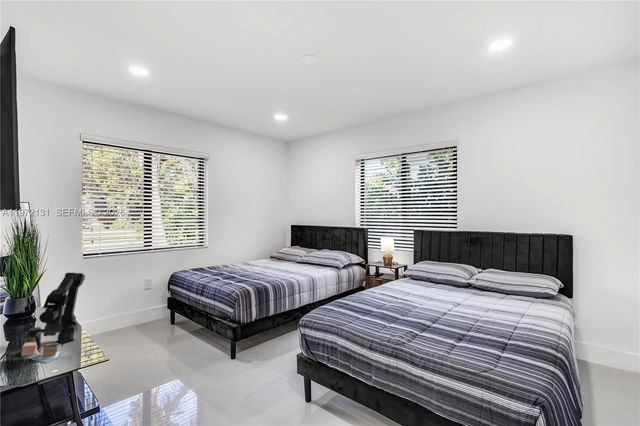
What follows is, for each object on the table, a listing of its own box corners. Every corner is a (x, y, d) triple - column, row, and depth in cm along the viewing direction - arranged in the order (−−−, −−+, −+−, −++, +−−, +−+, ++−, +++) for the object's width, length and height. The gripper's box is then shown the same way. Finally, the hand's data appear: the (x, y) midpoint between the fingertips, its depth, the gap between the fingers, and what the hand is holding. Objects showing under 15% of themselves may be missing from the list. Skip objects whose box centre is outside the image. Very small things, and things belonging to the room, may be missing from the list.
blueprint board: (52, 349, 168) (52, 348, 168) (70, 354, 165) (71, 353, 165) (27, 358, 157) (27, 357, 157) (46, 363, 153) (46, 362, 153)
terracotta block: (24, 352, 163) (25, 342, 163) (36, 351, 165) (38, 341, 165) (21, 356, 158) (22, 346, 159) (33, 355, 161) (35, 345, 161)
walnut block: (44, 353, 162) (45, 344, 162) (56, 352, 164) (58, 343, 164) (42, 357, 157) (43, 347, 158) (54, 356, 160) (56, 346, 160)
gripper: (25, 323, 150) (21, 355, 149) (74, 320, 159) (70, 351, 159) (32, 316, 160) (28, 347, 159) (77, 314, 169) (74, 343, 168)
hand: (50, 347), depth 161 cm, fingers open, 9 cm apart
